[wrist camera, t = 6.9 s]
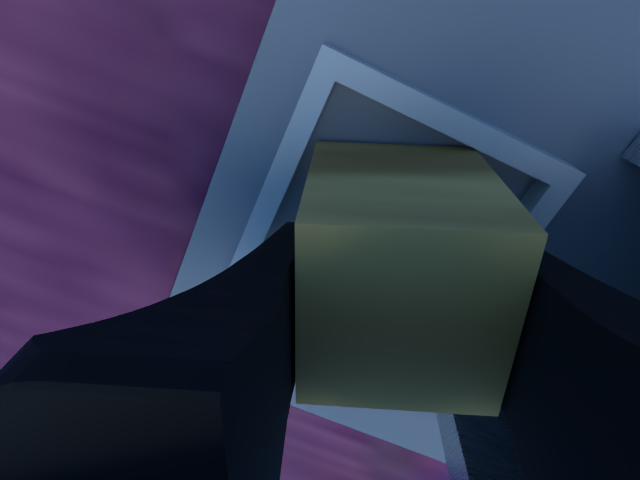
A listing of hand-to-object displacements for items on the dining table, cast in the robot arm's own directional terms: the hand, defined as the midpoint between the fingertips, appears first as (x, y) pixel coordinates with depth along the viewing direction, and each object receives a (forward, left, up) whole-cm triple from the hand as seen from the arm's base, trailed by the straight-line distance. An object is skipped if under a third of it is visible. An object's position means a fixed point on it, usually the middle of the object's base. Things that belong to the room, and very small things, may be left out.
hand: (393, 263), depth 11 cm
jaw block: (0, 0, -2) cm, 2 cm away
